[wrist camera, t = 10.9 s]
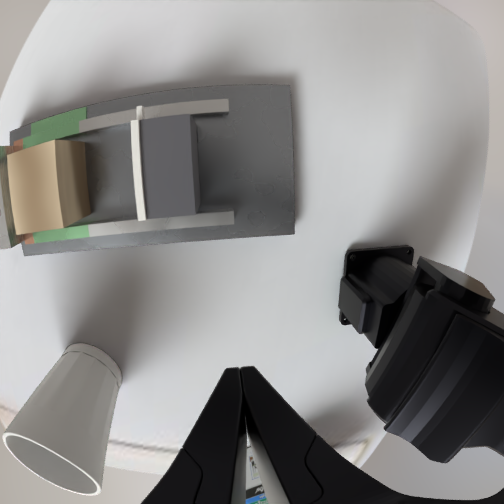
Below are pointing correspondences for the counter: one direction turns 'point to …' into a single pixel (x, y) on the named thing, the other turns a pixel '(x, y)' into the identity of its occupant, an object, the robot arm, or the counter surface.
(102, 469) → the cup
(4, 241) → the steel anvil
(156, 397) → the counter surface
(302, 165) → the counter surface
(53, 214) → the block
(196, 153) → the plunger
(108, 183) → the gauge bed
